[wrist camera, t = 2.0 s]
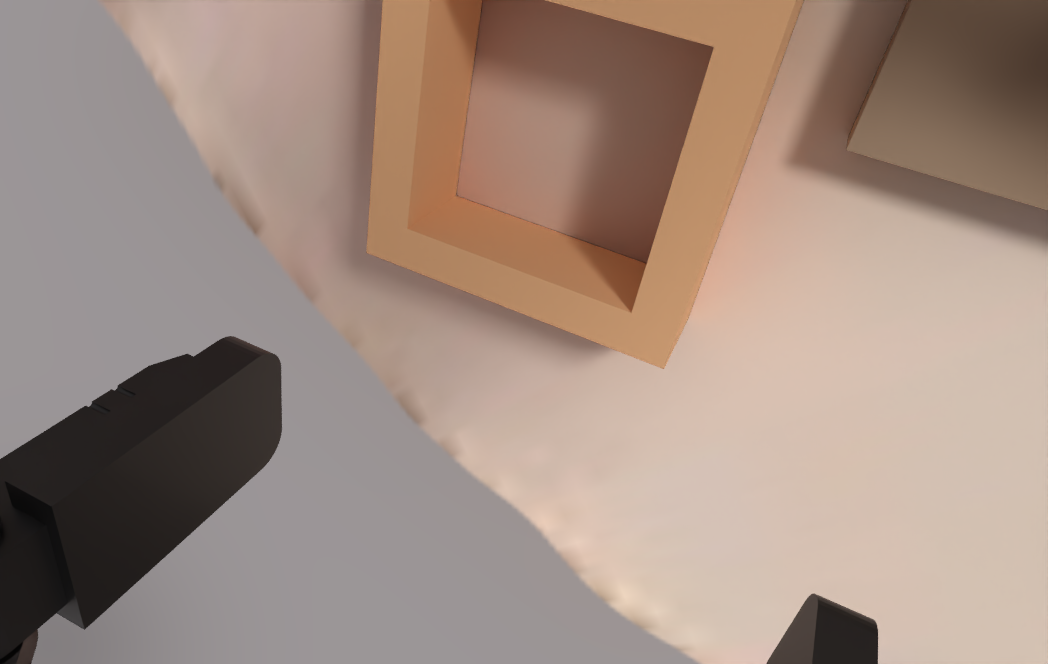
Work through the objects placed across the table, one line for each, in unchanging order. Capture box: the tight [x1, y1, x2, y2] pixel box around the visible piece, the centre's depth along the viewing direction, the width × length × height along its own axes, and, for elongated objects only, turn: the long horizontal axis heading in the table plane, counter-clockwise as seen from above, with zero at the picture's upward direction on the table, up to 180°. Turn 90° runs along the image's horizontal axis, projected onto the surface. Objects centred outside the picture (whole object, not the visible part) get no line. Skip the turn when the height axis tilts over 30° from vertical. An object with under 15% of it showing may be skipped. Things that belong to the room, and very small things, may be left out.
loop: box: [366, 0, 804, 369], centre depth 23 cm, size 11×11×4 cm
